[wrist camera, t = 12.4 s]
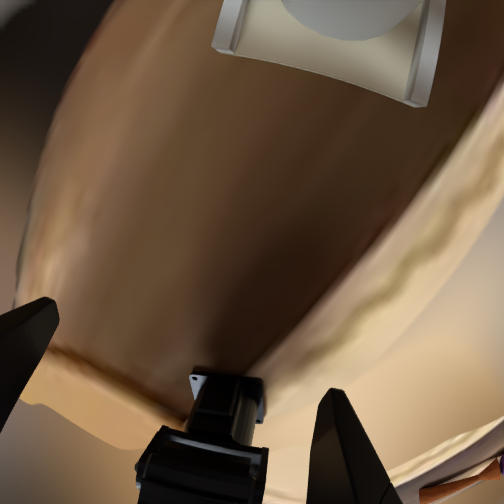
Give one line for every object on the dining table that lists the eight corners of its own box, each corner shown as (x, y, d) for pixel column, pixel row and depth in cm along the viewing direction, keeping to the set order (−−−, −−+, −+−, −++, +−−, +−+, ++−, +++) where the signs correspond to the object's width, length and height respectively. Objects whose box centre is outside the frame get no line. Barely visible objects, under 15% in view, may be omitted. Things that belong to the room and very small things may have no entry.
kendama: (418, 505, 29) (537, 456, 21) (417, 476, 35) (527, 430, 27) (423, 517, 30) (533, 472, 22) (422, 490, 35) (525, 448, 27)
